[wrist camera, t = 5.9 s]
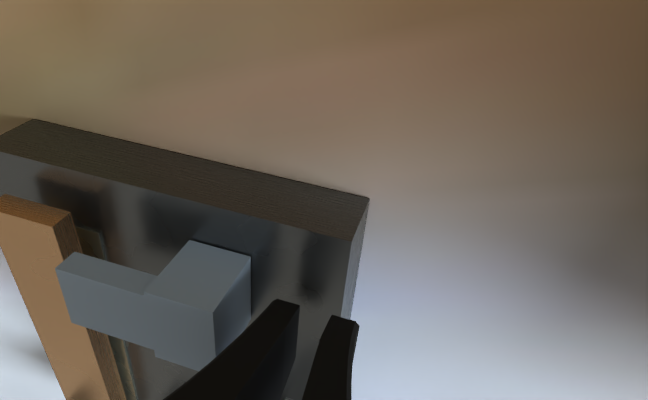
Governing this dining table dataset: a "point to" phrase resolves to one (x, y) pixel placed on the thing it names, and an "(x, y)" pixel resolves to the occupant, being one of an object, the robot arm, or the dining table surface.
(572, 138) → the dining table surface
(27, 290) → the strap
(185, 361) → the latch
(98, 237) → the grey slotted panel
